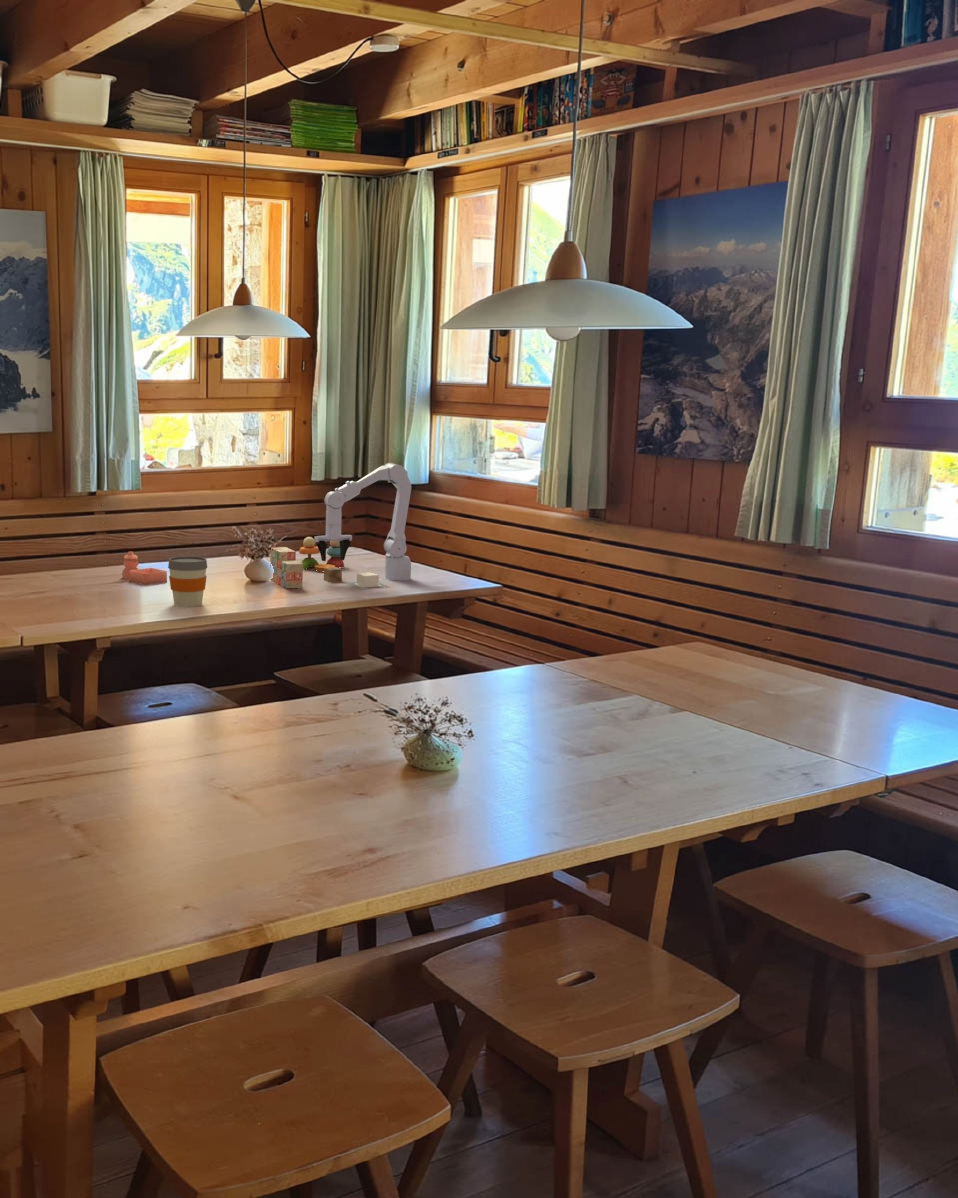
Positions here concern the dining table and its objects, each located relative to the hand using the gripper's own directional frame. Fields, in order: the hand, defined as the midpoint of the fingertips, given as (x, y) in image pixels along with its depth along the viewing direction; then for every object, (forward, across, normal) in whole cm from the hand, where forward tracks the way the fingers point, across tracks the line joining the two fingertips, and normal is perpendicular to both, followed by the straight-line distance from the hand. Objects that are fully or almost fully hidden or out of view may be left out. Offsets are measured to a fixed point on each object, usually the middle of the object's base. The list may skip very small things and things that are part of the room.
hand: (333, 560), depth 441 cm
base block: (+8, -8, +13) cm, 17 cm away
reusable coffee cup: (+8, +63, +22) cm, 67 cm away
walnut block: (+8, 0, 0) cm, 8 cm away
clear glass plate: (+8, -8, +13) cm, 17 cm away
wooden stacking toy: (+8, -10, -27) cm, 30 cm away
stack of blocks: (+8, +18, -2) cm, 20 cm away
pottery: (+8, +64, -26) cm, 70 cm away
